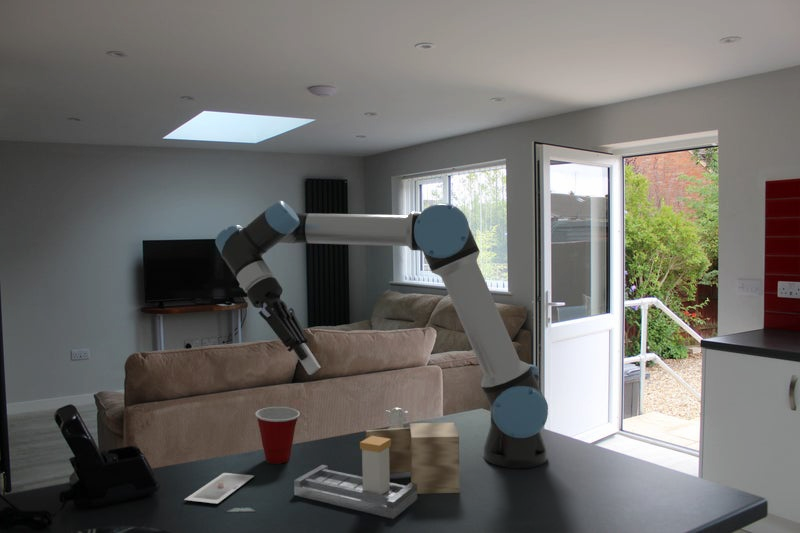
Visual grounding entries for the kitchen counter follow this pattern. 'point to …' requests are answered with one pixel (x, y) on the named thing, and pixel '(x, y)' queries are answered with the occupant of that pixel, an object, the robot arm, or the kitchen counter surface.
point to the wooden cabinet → (425, 455)
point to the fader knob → (375, 464)
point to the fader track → (353, 492)
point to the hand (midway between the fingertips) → (314, 371)
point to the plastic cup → (277, 432)
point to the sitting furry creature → (396, 417)
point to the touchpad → (219, 488)
